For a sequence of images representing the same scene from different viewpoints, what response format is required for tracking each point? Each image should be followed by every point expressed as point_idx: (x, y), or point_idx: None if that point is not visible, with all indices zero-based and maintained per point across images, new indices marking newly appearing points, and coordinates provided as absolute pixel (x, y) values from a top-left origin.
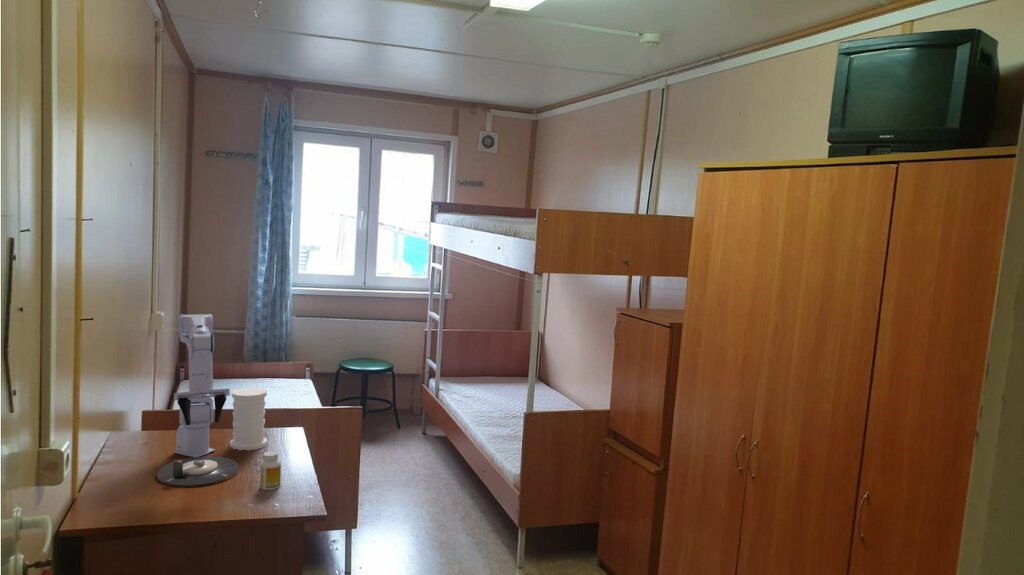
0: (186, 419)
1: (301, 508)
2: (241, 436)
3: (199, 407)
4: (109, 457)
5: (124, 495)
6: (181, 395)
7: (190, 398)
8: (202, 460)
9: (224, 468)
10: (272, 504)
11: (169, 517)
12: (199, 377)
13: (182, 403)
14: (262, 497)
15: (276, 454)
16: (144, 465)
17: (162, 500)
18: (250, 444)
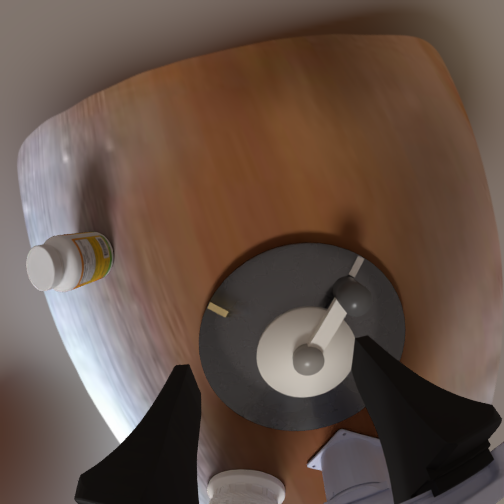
0: (379, 352)
1: (32, 149)
2: (249, 495)
3: None
4: (490, 390)
5: (425, 181)
6: (481, 490)
7: (407, 501)
8: (301, 371)
9: (238, 360)
10: (72, 155)
11: (264, 58)
12: None
13: (460, 417)
14: (95, 188)
15: (26, 260)
16: (437, 371)
17: (327, 146)
18: (231, 481)
